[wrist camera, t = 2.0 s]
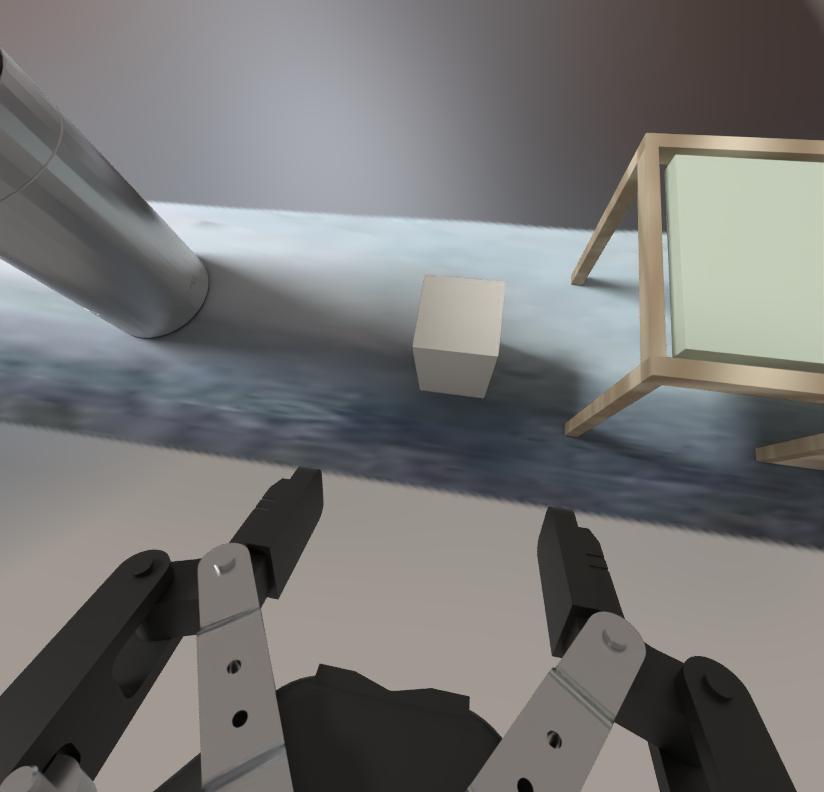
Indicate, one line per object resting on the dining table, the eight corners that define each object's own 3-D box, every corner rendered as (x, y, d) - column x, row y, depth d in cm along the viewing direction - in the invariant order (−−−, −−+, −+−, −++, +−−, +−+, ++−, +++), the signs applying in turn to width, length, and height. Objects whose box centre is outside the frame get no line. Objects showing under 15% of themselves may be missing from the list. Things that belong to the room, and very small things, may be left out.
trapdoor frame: (564, 435, 28) (652, 374, 16) (571, 274, 32) (645, 133, 20) (946, 486, 25) (1386, 458, 14) (902, 303, 29) (1212, 157, 18)
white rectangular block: (420, 390, 30) (412, 346, 23) (429, 333, 32) (424, 274, 24) (483, 398, 30) (498, 356, 22) (490, 339, 31) (505, 281, 24)
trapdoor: (672, 357, 18) (685, 348, 17) (664, 171, 21) (675, 154, 20) (947, 388, 16) (978, 380, 15) (893, 184, 20) (917, 167, 19)
